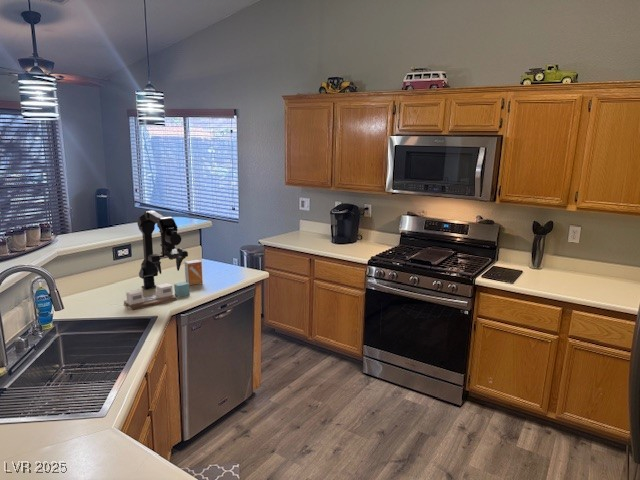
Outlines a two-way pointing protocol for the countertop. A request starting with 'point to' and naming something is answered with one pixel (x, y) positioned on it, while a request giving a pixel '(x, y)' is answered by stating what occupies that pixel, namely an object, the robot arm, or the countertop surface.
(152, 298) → the metal rail
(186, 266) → the small box
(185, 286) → the block
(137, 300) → the mounted modules
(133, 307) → the rail board
